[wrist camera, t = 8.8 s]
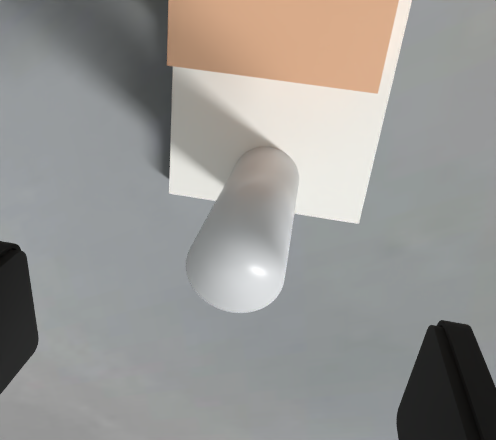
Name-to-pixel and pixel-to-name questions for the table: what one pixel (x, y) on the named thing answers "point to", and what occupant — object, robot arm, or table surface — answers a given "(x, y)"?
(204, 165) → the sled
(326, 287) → the table surface
